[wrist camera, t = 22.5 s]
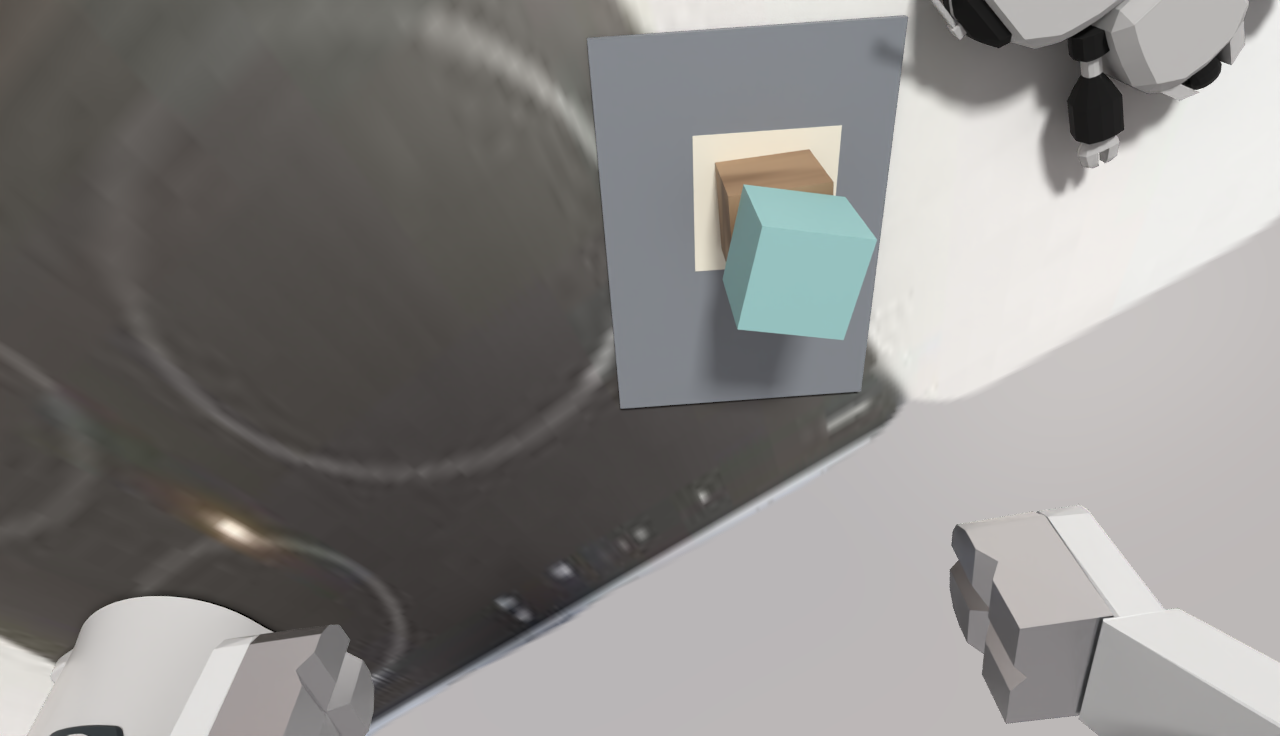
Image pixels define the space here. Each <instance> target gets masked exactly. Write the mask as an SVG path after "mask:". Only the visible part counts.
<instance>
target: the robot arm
mask: <svg viewBox="0 0 1280 736" xmlns="http://www.w3.org/2000/svg"><path fill="white" fill-rule="evenodd" d="M952 547H953V549H954V551H955V553H956V555H957V557H958V559H959V560H958V561H957V562H956V564H955V565H954V566H953V567H952V568H951V569H950V592H951V598H952V603H953V608H954V611H955V614H956V617H957V620H958V623H959V626H960V628H961V630H962V632H963V634H964V637H965V639H966V641H967V643H969V644H970V645H971V646H973V647H974V648H976V649H977V650H979V651H981V652H982V653H983V654H984V659H983V670H982V675H983V677H984V679H985V681H986V683H987V685H988V688H989V690H990V692H991V694H992V696H993V698H994V700H995V702H996V704H997V706H998V708H999V710H1000V712H1001V714H1002V716H1003V718H1004V721H1005V723H1006V724H1007V723H1016V722H1024V721H1034V720H1042V719H1051V718H1060V717H1069V716H1078V715H1079V720H1080V721H1081V722H1083V723H1084V724H1085V725H1086V726H1088V727H1089V728H1090V729H1091V730H1092V731H1094V732H1095V733H1096V734H1098V735H1099V736H1280V663H1279V662H1278V661H1276V660H1274V659H1272V658H1270V657H1268V656H1266V655H1264V654H1263V653H1261V652H1259V651H1257V650H1255V649H1253V648H1252V647H1250V646H1248V645H1246V644H1244V643H1242V642H1240V641H1239V640H1237V639H1235V638H1233V637H1231V636H1229V635H1227V634H1226V633H1224V632H1222V631H1220V630H1218V629H1216V628H1214V627H1213V626H1211V625H1209V624H1207V623H1205V622H1203V621H1201V620H1199V619H1198V618H1196V617H1194V616H1192V615H1190V614H1188V613H1187V612H1185V611H1183V610H1181V609H1179V608H1176V609H1166V610H1165V609H1164V608H1163V606H1162V605H1161V604H1160V602H1159V601H1158V600H1157V599H1156V597H1155V596H1154V595H1153V593H1152V592H1151V591H1150V589H1149V588H1148V587H1147V585H1146V584H1145V583H1144V582H1143V580H1142V579H1141V578H1140V576H1139V575H1138V574H1137V573H1136V571H1135V570H1134V569H1133V568H1132V566H1131V565H1130V563H1129V562H1128V561H1127V560H1126V558H1125V557H1124V556H1123V555H1122V553H1121V552H1120V550H1119V549H1118V548H1117V547H1116V545H1115V544H1114V543H1113V541H1112V540H1111V539H1110V537H1109V536H1108V535H1107V534H1106V532H1105V531H1104V530H1103V528H1102V527H1101V526H1100V525H1099V523H1098V522H1097V521H1096V519H1095V518H1094V517H1093V515H1092V514H1091V513H1090V512H1089V510H1088V509H1086V508H1084V507H1082V506H1081V505H1074V506H1068V507H1061V508H1055V509H1049V510H1043V511H1038V512H1027V513H1021V514H1015V515H1010V516H1004V517H998V518H992V519H986V520H981V521H974V522H969V523H963V524H957V525H956V526H955V528H954V530H953V535H952ZM349 641H350V639H349V638H348V636H347V635H346V634H345V632H344V631H343V629H342V628H341V627H340V625H326V626H319V627H311V628H303V629H296V630H288V631H280V632H272V631H270V630H268V629H266V628H264V627H263V626H261V625H259V624H257V623H256V622H254V621H252V620H251V619H249V618H247V617H245V616H243V615H241V614H239V613H237V612H234V611H232V610H229V609H227V608H224V607H221V606H218V605H215V604H211V603H207V602H204V601H199V600H194V599H188V598H181V597H171V596H146V597H137V598H130V599H126V600H122V601H118V602H115V603H112V604H110V605H107V606H105V607H103V608H101V609H99V610H98V611H96V612H95V613H94V614H92V615H91V616H90V617H89V618H88V619H87V620H86V622H85V623H84V625H83V626H82V628H81V631H80V633H79V636H78V639H77V642H76V644H75V646H74V649H72V650H71V651H69V652H68V653H66V654H65V655H63V656H62V657H61V658H60V659H59V660H58V661H57V663H56V665H55V667H54V668H53V670H52V672H51V674H50V678H51V680H52V681H53V682H54V685H53V687H52V689H51V691H50V693H49V695H48V696H47V698H46V700H45V702H44V704H43V706H42V708H41V709H40V711H39V713H38V715H37V717H36V719H35V720H34V722H33V724H32V726H31V728H30V730H29V732H28V734H27V736H365V735H366V733H367V732H368V731H369V727H370V723H371V719H372V715H373V711H374V685H373V682H372V678H371V674H370V671H369V670H368V668H367V666H366V665H365V663H364V661H363V660H361V659H359V658H357V657H355V656H353V655H351V654H349V653H347V652H346V651H347V647H348V644H349Z"/></svg>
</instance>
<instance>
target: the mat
mask: <svg viewBox="0 0 1280 736" xmlns="http://www.w3.org/2000/svg"><path fill="white" fill-rule="evenodd" d="M907 21H908V17H907V16H905V15H903V16H889V17H875V18H861V19H847V20H833V21H819V22H805V23H791V24H777V25H763V26H749V27H735V28H721V29H707V30H693V31H679V32H665V33H651V34H637V35H622V36H608V37H594V38H587V44H588V55H589V66H590V77H591V88H592V99H593V110H594V121H595V132H596V143H597V154H598V165H599V176H600V187H601V198H602V209H603V220H604V231H605V243H606V254H607V265H608V276H609V287H610V298H611V309H612V320H613V331H614V342H615V353H616V364H617V375H618V386H619V397H620V408H621V409H624V408H638V407H652V406H665V405H679V404H693V403H706V402H720V401H734V400H748V399H761V398H775V397H789V396H803V395H816V394H830V393H844V392H857V391H861V386H862V378H863V370H864V362H865V354H866V346H867V338H868V330H869V322H870V315H871V307H872V299H873V291H874V283H875V275H876V267H877V259H878V251H879V243H880V235H881V227H882V219H883V211H884V203H885V196H886V188H887V180H888V172H889V164H890V156H891V148H892V140H893V132H894V124H895V116H896V108H897V100H898V92H899V85H900V77H901V69H902V61H903V53H904V45H905V37H906V29H907ZM807 149H810V151H811V152H812V154H813V155H814V156H815V158H816V159H817V160H818V162H819V163H820V164H821V166H822V167H823V168H824V170H825V171H826V172H827V174H828V175H829V176H830V178H831V179H832V180H833V182H834V189H833V195H834V196H842V197H846V198H847V200H848V201H849V202H850V204H851V205H852V206H853V208H854V209H855V211H856V212H857V213H858V215H859V216H860V217H861V219H862V220H863V221H864V223H865V224H866V225H867V227H868V228H869V229H870V231H871V232H872V233H873V235H874V236H875V237H876V239H877V242H876V245H875V248H874V251H873V254H872V257H871V260H870V263H869V266H868V269H867V272H866V275H865V278H864V281H863V284H862V287H861V290H860V293H859V296H858V299H857V302H856V305H855V307H854V310H853V313H852V316H851V319H850V322H849V325H848V328H847V331H846V334H845V337H844V340H837V339H827V338H817V337H808V336H798V335H788V334H778V333H768V332H758V331H748V330H738V329H737V327H736V323H735V320H734V317H733V313H732V310H731V306H730V303H729V300H728V296H727V293H726V290H725V286H724V283H723V275H724V270H725V266H726V261H725V258H724V255H723V252H722V248H721V235H720V221H719V208H718V195H717V182H716V169H715V162H722V161H729V160H736V159H744V158H751V157H758V156H765V155H772V154H779V153H786V152H793V151H800V150H807Z"/></svg>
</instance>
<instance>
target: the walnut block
mask: <svg viewBox="0 0 1280 736" xmlns="http://www.w3.org/2000/svg"><path fill="white" fill-rule="evenodd" d="M715 169H716V182H717V195H718V208H719V221H720V235H721V248H722V252H723V255H724V258H725V261H727V257H728V252H729V248H730V243H731V239H732V234H733V230H734V225H735V220H736V216H737V211H738V207H739V202H740V198H741V193H742V189H743V184H745V185H753V186H761V187H769V188H777V189H785V190H793V191H801V192H810V193H818V194H826V195H833V189H834V182H833V180H832V179H831V178H830V176H829V175H828V174H827V172H826V171H825V170H824V168H823V167H822V166H821V164H820V163H819V162H818V160H817V159H816V158H815V156H814V155H813V154H812V152H811V151H810V149H807V150H800V151H793V152H786V153H779V154H772V155H765V156H758V157H751V158H744V159H736V160H729V161H722V162H715Z"/></svg>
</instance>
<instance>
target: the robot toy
mask: <svg viewBox="0 0 1280 736" xmlns="http://www.w3.org/2000/svg"><path fill="white" fill-rule="evenodd" d="M931 2H932V3H933V4H934V6H935V7H936V8H937V10H938V11H939V12H940V14H941V15H942V16H943V18H944V19H945V20H946V22H947V23H948V25H947V26H946V27H947V28H948V29H949V31H950V32H951V33H952V35H953V36H955V37H956V38H958V39H959V40H961V39H962V38H963V37H964V36H965V35H966V36H968V37H970V38H972V39H974V40H976V41H979V42H981V43H984V44H987V45H990V46H993V47H997V48H1000V47H1002V46H1004V45H1006V44H1008V43H1010V42H1011V43H1015V44H1019V45H1022V46H1026V47H1029V48H1033V49H1037V48H1041V47H1044V46H1048V45H1051V44H1055V43H1059V42H1061V41H1063V40H1065V39H1067V38H1068V48H1069V55H1070V56H1071V57H1072V58H1073V60H1077V61H1080V66H1081V76H1080V78H1079V79H1078V81H1077V82H1076V84H1075V86H1074V88H1073V90H1072V92H1071V94H1070V96H1069V98H1068V100H1067V103H1068V113H1069V123H1070V132H1071V134H1072V136H1073V137H1074V139H1075V140H1076V141H1079V142H1081V143H1080V145H1079V148H1078V150H1077V155H1078V158H1079V160H1080V163H1081V165H1082V166H1083V167H1088V168H1095V167H1097V166H1099V164H1098V153H1099V155H1100V160H1101V161H1103V162H1104V163H1106V162H1109V161H1111V160H1112V159H1113V158H1114V157H1116V156H1117V153H1118V148H1119V143H1120V142H1119V138H1118V137H1117V136H1116V135H1117V134H1118V133H1120V132H1121V131H1123V130H1124V120H1123V102H1122V94H1121V93H1120V92H1119V90H1118V89H1117V88H1116V87H1115V85H1114V84H1113V83H1112V81H1111V80H1110V79H1109V78H1108V77H1107V76H1106V75H1109V76H1111V77H1113V78H1115V79H1117V80H1119V81H1121V82H1123V83H1126V84H1128V85H1130V86H1132V87H1134V88H1136V89H1138V90H1141V91H1143V92H1145V93H1147V94H1149V93H1163V94H1165V95H1167V96H1170V97H1172V98H1174V99H1177V100H1179V101H1180V100H1182V99H1185V98H1187V97H1190V96H1192V95H1194V94H1197V93H1199V92H1197V91H1195V90H1198V89H1201V88H1204V87H1206V86H1208V85H1209V84H1211V83H1212V82H1213V81H1214V80H1215V79H1216V78H1217V77H1218V76H1219V74H1220V72H1221V65H1222V64H1221V62H1220V61H1222V62H1224V63H1227V64H1230V65H1232V64H1233V62H1234V61H1235V59H1236V58H1237V56H1238V54H1239V53H1240V51H1241V50H1242V48H1243V47H1244V45H1245V33H1244V18H1245V15H1246V12H1247V9H1248V6H1249V0H943V4H944V6H943V5H942V3H941V2H940V1H939V0H931ZM1105 74H1106V75H1105Z"/></svg>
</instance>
